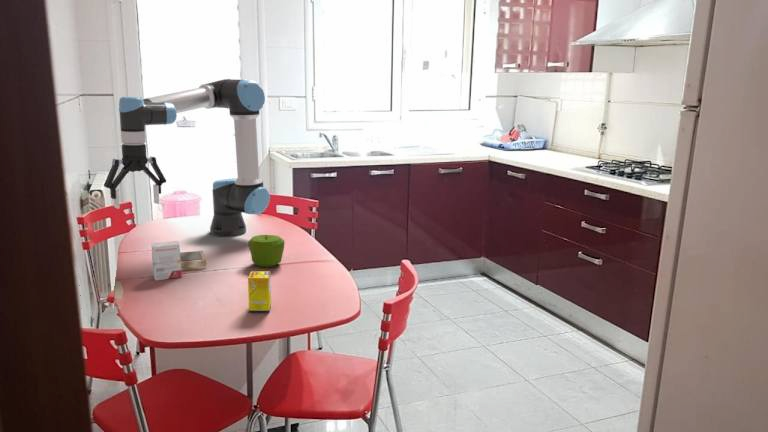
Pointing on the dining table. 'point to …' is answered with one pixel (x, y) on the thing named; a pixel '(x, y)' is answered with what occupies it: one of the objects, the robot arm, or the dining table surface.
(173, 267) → the ink box
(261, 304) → the supplement box
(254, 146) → the robot arm
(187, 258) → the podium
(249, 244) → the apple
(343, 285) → the dining table surface
